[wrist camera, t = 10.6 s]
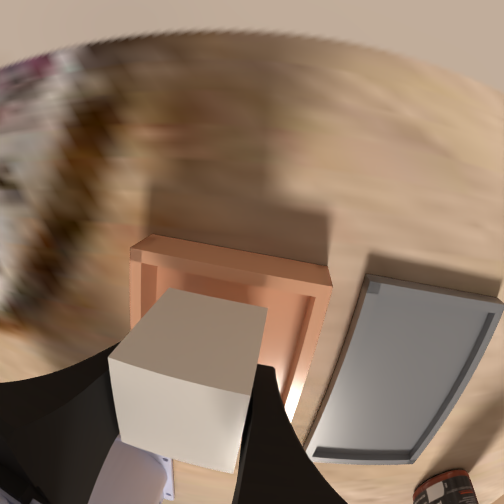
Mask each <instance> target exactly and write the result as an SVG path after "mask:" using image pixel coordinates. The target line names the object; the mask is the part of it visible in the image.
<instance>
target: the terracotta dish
mask: <svg viewBox="0 0 504 504" xmlns="http://www.w3.org/2000/svg"><path fill="white" fill-rule="evenodd" d="M168 288H174V289H178V290H183V291H187V292H192V293H196V294H201V295H206V296H210V297H215V298H220V299H225V300H230V301H235V302H240V303H245V304H250V305H255V306H260V307H265V308H268V311H267V317H266V322H265V327H264V332H263V337H262V342H261V347H260V353H259V358H258V363H257V364H262V365H267V366H273V367H274V368H275V370H276V378H277V383H278V388H279V392H280V395H281V398H282V401H283V404H284V407H285V410H286V413H287V415H288V418H289V420H290V423H291V421H292V418H293V415H294V412H295V409H296V406H297V404H298V401H299V398H300V395H301V392H302V389H303V386H304V383H305V380H306V377H307V374H308V371H309V367H310V364H311V361H312V358H313V355H314V352H315V348H316V345H317V342H318V338H319V335H320V332H321V328H322V325H323V321H324V318H325V314H326V311H327V307H328V303H329V300H330V296H331V292H332V288H333V285H332V281H331V277H330V273H329V270H328V266H322V265H317V264H312V263H306V262H301V261H295V260H290V259H285V258H279V257H274V256H268V255H263V254H258V253H252V252H247V251H241V250H236V249H231V248H225V247H220V246H214V245H209V244H204V243H198V242H193V241H187V240H182V239H177V238H171V237H166V236H160V235H155V234H151V235H150V236H148V237H147V238H145V239H143V240H142V241H140V242H138V243H137V244H135V245H134V246H132V247H130V326H131V330H132V329H133V328H134V326H135V325H136V324H137V323H138V322H139V321H140V320H141V318H142V317H143V316H144V315H145V314H146V313H147V312H148V311H149V309H150V308H151V307H152V306H153V305H154V304H155V303H156V302H157V301H158V299H159V298H160V297H161V296H162V295H163V294H164V293H165V292H166V291H167V289H168ZM241 441H242V437H241Z"/></svg>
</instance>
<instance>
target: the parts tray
mask: <svg viewBox="0 0 504 504" xmlns="http://www.w3.org/2000/svg"><path fill="white" fill-rule="evenodd" d="M503 311H504V303H503V302H502V301H501V300H500V299H498V298H496V297H490V296H485V295H479V294H474V293H469V292H463V291H458V290H452V289H447V288H442V287H436V286H431V285H425V284H420V283H414V282H409V281H404V280H398V279H393V278H387V277H382V276H377V275H371V274H366V275H365V279H364V282H363V286H362V289H361V292H360V296H359V299H358V302H357V306H356V309H355V312H354V315H353V318H352V322H351V325H350V328H349V331H348V334H347V337H346V340H345V343H344V346H343V348H342V351H341V354H340V357H339V360H338V362H337V365H336V368H335V371H334V373H333V376H332V379H331V381H330V384H329V387H328V389H327V392H326V394H325V397H324V399H323V402H322V404H321V407H320V409H319V412H318V414H317V416H316V419H315V421H314V423H313V426H312V428H311V430H310V433H309V435H308V437H307V439H306V442H305V444H304V446H303V448H304V450H305V452H306V453H307V455H308V456H309V458H310V460H311V461H312V462H322V463H336V464H357V465H400V464H413V463H414V462H415V461H416V460H417V458H418V457H419V456H420V454H421V453H422V452H423V450H424V449H425V448H426V447H427V445H428V444H429V442H430V441H431V440H432V438H433V437H434V436H435V434H436V433H437V431H438V430H439V428H440V427H441V426H442V424H443V423H444V421H445V420H446V418H447V417H448V415H449V414H450V412H451V410H452V409H453V407H454V406H455V404H456V403H457V401H458V399H459V398H460V396H461V394H462V393H463V391H464V389H465V388H466V386H467V384H468V382H469V381H470V379H471V377H472V375H473V373H474V372H475V370H476V368H477V366H478V364H479V362H480V360H481V358H482V356H483V354H484V352H485V350H486V348H487V346H488V344H489V342H490V340H491V338H492V336H493V334H494V331H495V329H496V327H497V325H498V322H499V320H500V318H501V315H502V313H503Z"/></svg>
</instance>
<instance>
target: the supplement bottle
mask: <svg viewBox="0 0 504 504" xmlns="http://www.w3.org/2000/svg"><path fill="white" fill-rule="evenodd" d="M413 501H414V502H413V504H478V501H477V498H476V494H475V491H474V488H473V485H472V483H471V480H470V478H469V475H468V473H467V472H466V471H464V470H452V471H448V472H445V473H442V474H439V475H437V476H435V477H433V478H431V479H429V480H427V481H426V482H424V483H423V484H422V485H421V486H419V488H418V489H417V490H416V491H415V492H414V494H413Z"/></svg>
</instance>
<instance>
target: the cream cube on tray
mask: <svg viewBox="0 0 504 504" xmlns="http://www.w3.org/2000/svg"><path fill="white" fill-rule="evenodd" d="M267 311H268V308H265V307H260V306H255V305H250V304H245V303H240V302H235V301H230V300H225V299H220V298H215V297H210V296H206V295H201V294H196V293H192V292H187V291H183V290H178V289H174V288H168V289H167V291H166V292H165V293H164V294H163V295H162V296H161V297H160V298H159V299H158V301H157V302H156V303H155V304H154V305H153V306H152V307H151V308H150V309H149V311H148V312H147V313H146V314H145V315H144V316H143V317H142V318H141V320H140V321H139V322H138V323H137V324H136V325H135V326H134V328H133V329H132V330H131V331H130V332H129V333H128V334H127V336H126V337H125V338H124V339H123V340H122V341H121V342H120V344H119V345H118V346H117V347H116V348H115V349H114V351H113V352H112V353H111V354H110V355H109V356H108V363H109V371H110V378H111V385H112V391H113V398H114V404H115V409H116V415H117V420H118V425H119V430H120V435H121V440H122V442H124V443H126V444H129V445H132V446H135V447H137V448H140V449H143V450H146V451H149V452H152V453H155V454H158V455H161V456H165V457H168V458H171V459H175V460H178V461H182V462H185V463H189V464H193V465H197V466H201V467H205V468H209V469H213V470H218V471H222V472H227V473H232V474H233V472H234V468H235V463H236V459H237V455H238V451H239V446H240V442H241V437H242V433H243V429H244V424H245V420H246V415H247V411H248V406H249V401H250V397H251V392H252V387H253V382H254V377H255V372H256V368H257V363H258V358H259V353H260V347H261V342H262V337H263V332H264V327H265V322H266V317H267Z"/></svg>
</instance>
